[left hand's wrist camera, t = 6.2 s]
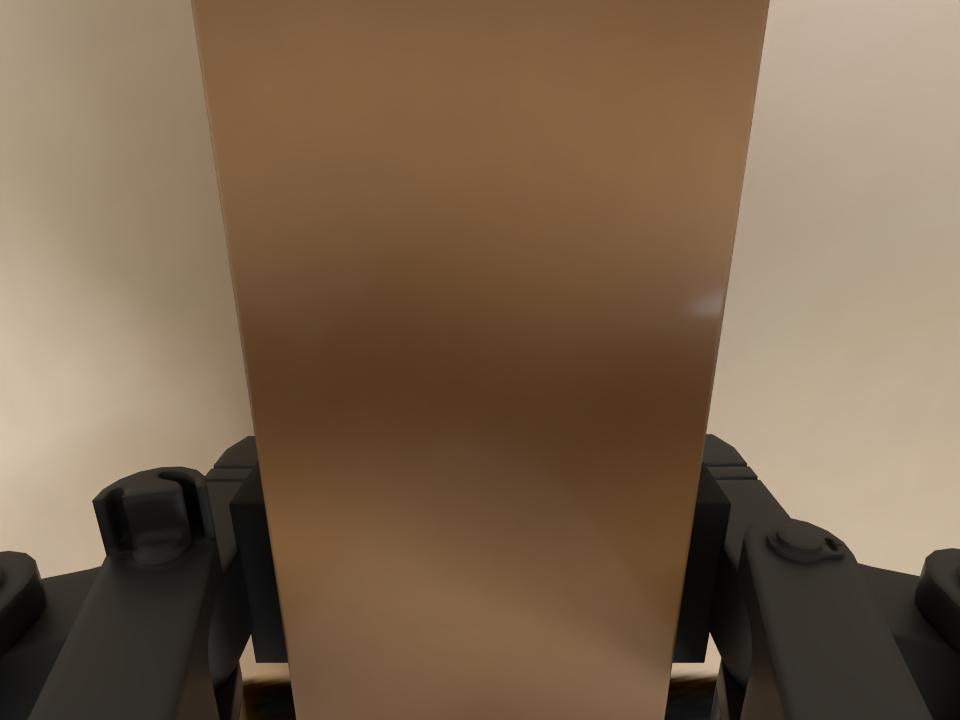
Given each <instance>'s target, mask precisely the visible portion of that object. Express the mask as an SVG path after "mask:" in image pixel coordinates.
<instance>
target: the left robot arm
mask: <svg viewBox="0 0 960 720" xmlns="http://www.w3.org/2000/svg"><path fill="white" fill-rule="evenodd" d="M92 502H93V506H94V509H95V513H96V517H97V521H98V525H99V528H100V532H101V536H102V540H103V544H104V547H105V551H106V555H107V556H106V558H105V560H104V562H103V564H102V566H100V567H96V568H93V569H89V570H84V571H79V572H74V573H69V574H64V575H59V576H54V577H49V578H44V579H41V577H40V573H39V570H38V567H37V564H36V561H35V560H34V559H33V558H32V557H30V556H29V555H28V554H26V553H20V552H13V551H5V552H0V720H239V717H240V708H241V700H242V692H243V681H242V674H241V668H240V663H239V659H240V657H241V655H242V653H243V650H244V648H245V646H246V644H247V642H248V639H249V637H250V635H251V636H252V642H253V647H254V653H255V659H256V663H288V658H287V651H286V645H285V638H284V631H283V624H282V617H281V610H280V604H279V597H278V590H277V583H276V576H275V570H274V563H273V556H272V549H271V542H270V535H269V529H268V522H267V515H266V508H265V501H264V494H263V488H262V481H261V474H260V467H259V460H258V454H257V447H256V440H255V436H248V437H246V438H245V439H243V440H241V441H240V442H238V443H236V444H235V445H233V446H232V447H230V448H228V449H227V450H226V451H225V452H224V453H223V455H222V456H221V457H220V458H219V460H218V461H217V462H216V463H215V465H214V469H211V470H210V471H209V472H208V474H207V475H206V476H204V475H202V474H201V473H200V472H199V471H197V470H195V469H190V468H185V467H161V468H156V469H151V470H146V471H141V472H138V473H136V474H133V475H130V476H127V477H125V478H122V479H120V480H118V481H116V482H115V483H113V484H111V485H110V486H108V487H106V488H105V489H103V490H102V491H101V492H100V493H99V494H98V495H97V496H96V497H95V498H94V499H93V501H92ZM709 632H710V633H711V636H712V638H713V640H714V642H715V644H716V646H717V649H718V651H719V653H720V655H721V663H720V668H719V674H718V679H717V685H716V690H715V696H714V701H713V706H712V712H711V719H710V720H719V719H720V715H721V720H960V549H954V548H951V549H943V550H936V551H934V552H933V553H931V554H930V555H929V556H927V557H926V559H925V562H924V566H923V569H922V572H921V575H920V576H915V575H910V574H905V573H900V572H895V571H890V570H885V569H880V568H875V567H871V566H867V565H863V564H859V563H857V561H856V559H855V557H854V555H853V553H852V552H851V551H850V550H849V548H848V547H847V546H846V545H845V543H844V542H843V541H841V540H840V539H838V538H837V537H835V536H834V535H833V534H831V533H830V532H828V531H827V530H824V529H822V528H820V527H817V526H815V525H813V524H810V523H808V522H804V521H800V520H796V519H791V518H790V517H789V515H788V514H787V513H786V512H785V510H784V509H783V508H782V507H781V505H780V504H779V503H778V502H777V500H776V499H775V498H774V497H773V495H772V494H771V493H770V492H769V490H768V489H767V488H766V487H765V485H764V484H763V483H762V482H761V480H758V479H757V475H756V474H755V473H754V472H753V470H752V469H751V468H750V467H747V463H746V462H745V460H744V459H743V458H742V457H741V455H740V454H739V453H738V452H737V450H736V449H735V448H734V447H732V446H731V445H729V444H727V443H726V442H724V441H723V440H721V439H719V438H718V437H716V436H714V435H713V434H706V437H705V444H704V450H703V457H702V464H701V471H700V478H699V485H698V491H697V498H696V505H695V512H694V519H693V525H692V532H691V539H690V546H689V553H688V559H687V566H686V573H685V580H684V587H683V593H682V600H681V607H680V614H679V621H678V628H677V634H676V641H675V648H674V655H673V662H672V663H704V661H705V655H706V650H707V644H708V638H709Z"/></svg>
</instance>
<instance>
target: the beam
mask: <svg viewBox="0 0 960 720" xmlns="http://www.w3.org/2000/svg"><path fill="white" fill-rule="evenodd" d="M769 1H770V0H191V3H192V10H193V17H194V24H195V31H196V37H197V44H198V51H199V58H200V65H201V71H202V78H203V85H204V92H205V99H206V106H207V112H208V119H209V126H210V133H211V140H212V147H213V153H214V160H215V167H216V174H217V181H218V187H219V194H220V201H221V208H222V215H223V222H224V228H225V235H226V242H227V249H228V256H229V263H230V269H231V276H232V283H233V290H234V297H235V303H236V310H237V317H238V324H239V331H240V338H241V344H242V351H243V358H244V365H245V372H246V378H247V385H248V392H249V399H250V406H251V413H252V419H253V426H254V433H255V440H256V447H257V454H258V460H259V467H260V474H261V481H262V488H263V494H264V501H265V508H266V515H267V522H268V529H269V535H270V542H271V549H272V556H273V563H274V570H275V576H276V583H277V590H278V597H279V604H280V610H281V617H282V624H283V631H284V638H285V645H286V651H287V658H288V665H289V672H290V679H291V686H292V692H293V699H294V706H295V713H296V720H664V716H665V709H666V702H667V696H668V689H669V682H670V675H671V668H672V662H673V655H674V648H675V641H676V634H677V628H678V621H679V614H680V607H681V600H682V593H683V587H684V580H685V573H686V566H687V559H688V553H689V546H690V539H691V532H692V525H693V519H694V512H695V505H696V498H697V491H698V485H699V478H700V471H701V464H702V457H703V450H704V444H705V437H706V430H707V423H708V416H709V410H710V403H711V396H712V389H713V382H714V376H715V369H716V362H717V355H718V348H719V342H720V335H721V328H722V321H723V314H724V307H725V301H726V294H727V287H728V280H729V273H730V267H731V260H732V253H733V246H734V239H735V233H736V226H737V219H738V212H739V205H740V199H741V192H742V185H743V178H744V171H745V165H746V158H747V151H748V144H749V137H750V130H751V124H752V117H753V110H754V103H755V96H756V90H757V83H758V76H759V69H760V62H761V56H762V49H763V42H764V35H765V28H766V22H767V15H768V8H769Z"/></svg>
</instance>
